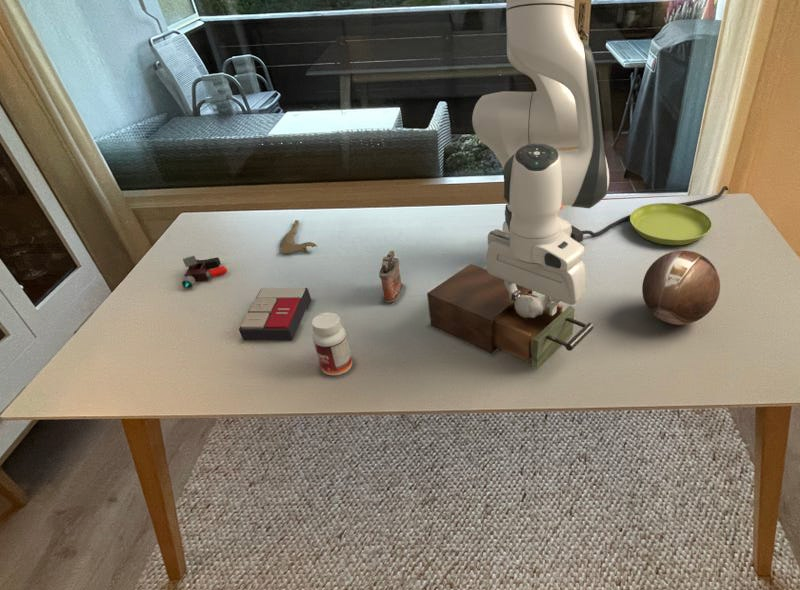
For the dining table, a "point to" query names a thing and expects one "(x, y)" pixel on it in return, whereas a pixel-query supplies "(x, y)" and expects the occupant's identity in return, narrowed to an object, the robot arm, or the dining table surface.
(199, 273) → the toy gun
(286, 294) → the calculator
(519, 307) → the white mannequin head
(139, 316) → the dining table surface
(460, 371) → the dining table surface
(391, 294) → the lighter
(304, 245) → the jawbone
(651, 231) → the saucer
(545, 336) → the drawer
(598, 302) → the dining table surface
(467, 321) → the cabinet
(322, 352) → the pill bottle
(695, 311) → the wooden sphere
